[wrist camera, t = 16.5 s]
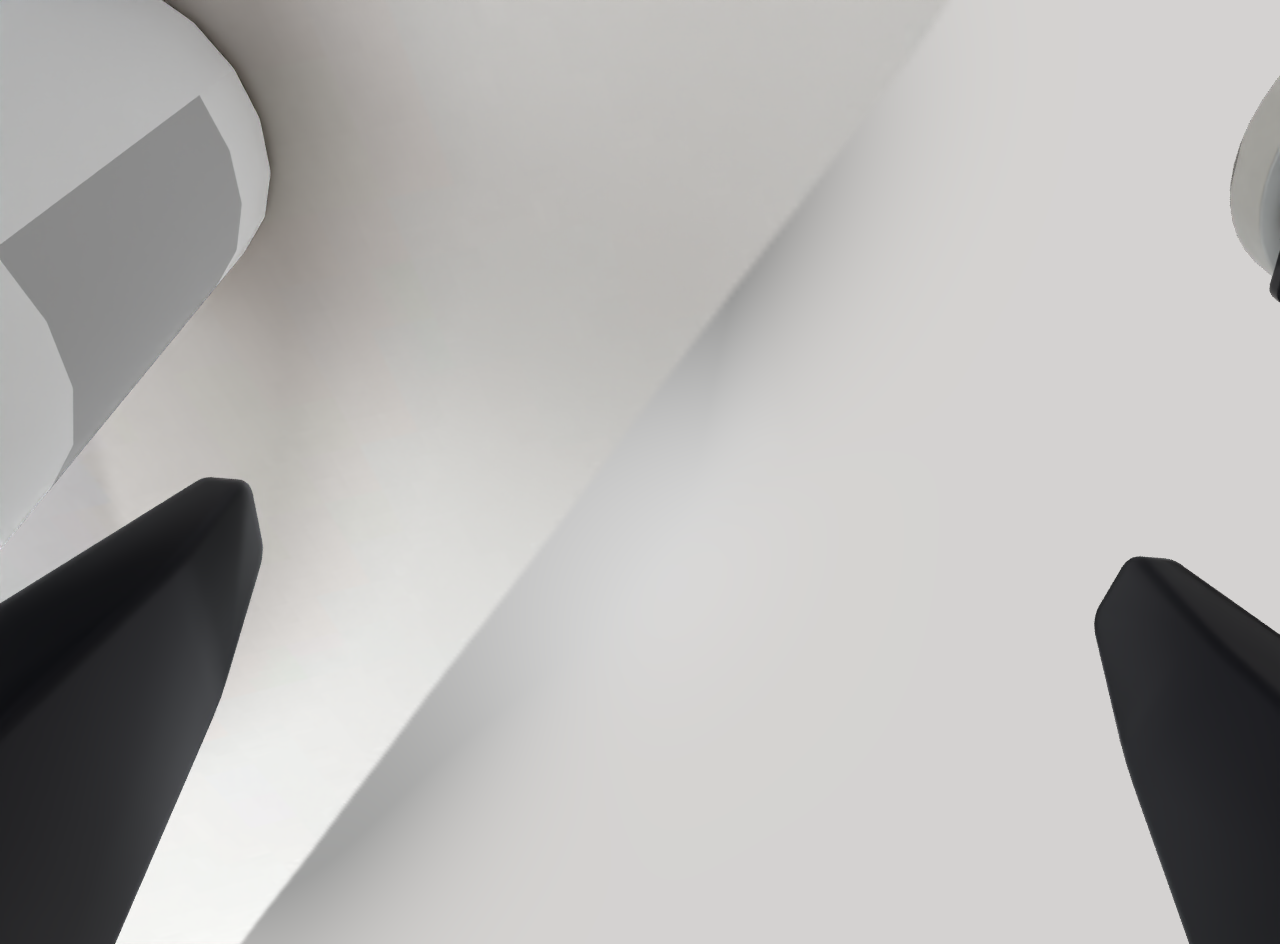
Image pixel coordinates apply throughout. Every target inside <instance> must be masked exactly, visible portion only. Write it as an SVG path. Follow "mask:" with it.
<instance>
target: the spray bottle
mask: <svg viewBox="0 0 1280 944" xmlns="http://www.w3.org/2000/svg"><path fill="white" fill-rule="evenodd" d="M270 174H271V171H270V166H269V162H268V157H267V152H266V147H265V142H264V137H263V132H262V127H261V122H260V118H259V116H258V114H257V112H256V110H255V109H254V107H253V105H252V103H251V101H250V99H249V97H248V95H247V93H246V91H245V89H244V87H243V85H242V83H241V81H240V79H239V78H238V76H237V74H236V72H235V70H234V68H233V67H232V66H231V65H230V63H229V62H228V61H227V60H226V59H225V58H224V57H223V55H222V54H221V53H220V52H219V51H218V50H217V49H216V47H215V46H214V45H213V44H212V43H211V42H210V41H209V40H208V38H207V37H206V36H205V35H204V34H203V33H202V32H201V30H200V29H199V28H198V27H197V26H196V25H195V24H194V22H192V21H191V20H189V19H188V18H187V17H185V16H184V15H182V14H181V13H179V12H178V11H177V10H175V9H174V8H172V7H171V6H170V5H168V4H167V3H165V2H164V1H162V0H0V550H1V548H2V547H3V546H4V545H5V543H6V542H7V541H8V540H9V539H10V537H11V536H12V535H13V534H14V533H15V531H16V530H17V529H18V528H19V526H20V525H21V524H22V523H23V522H24V520H25V519H26V518H27V517H28V515H29V514H30V513H31V512H32V511H33V509H34V508H35V507H36V506H37V504H38V503H39V502H40V501H41V500H42V498H43V497H44V496H45V495H46V494H47V492H48V491H49V490H50V489H51V487H52V486H53V485H54V484H55V483H56V481H57V480H58V479H59V478H60V476H61V475H62V474H63V473H64V472H65V470H66V469H67V468H68V467H69V465H70V464H71V463H72V462H73V461H74V459H75V458H76V457H77V456H78V455H79V453H80V452H81V451H82V450H83V448H84V447H85V446H86V445H87V444H88V442H89V441H90V440H91V439H92V437H93V436H94V435H95V434H96V433H97V431H98V430H99V429H100V428H101V426H102V425H103V424H104V423H105V422H106V420H107V419H108V418H109V417H110V415H111V414H112V413H113V412H114V411H115V409H116V408H117V407H118V406H119V405H120V403H121V402H122V401H123V400H124V398H125V397H126V396H127V395H128V394H129V392H130V391H131V390H132V389H133V387H134V386H135V385H136V384H137V383H138V381H139V380H140V379H141V378H142V376H143V375H144V374H145V373H146V372H147V370H148V369H149V368H150V367H151V366H152V364H153V363H154V362H155V361H156V359H157V358H158V357H159V356H160V355H161V353H162V352H163V351H164V350H165V348H166V347H167V346H168V345H169V344H170V342H171V341H172V340H173V339H174V337H175V336H176V335H177V334H178V333H179V331H180V330H181V329H182V328H183V327H184V325H185V324H186V323H187V322H188V320H189V319H190V318H191V317H192V316H193V314H194V313H195V312H196V311H197V309H198V308H199V307H200V306H201V305H202V303H203V302H204V301H205V300H206V298H207V297H208V296H209V295H210V294H211V292H212V291H213V290H214V289H215V287H216V286H217V285H218V284H219V283H220V281H221V280H222V279H223V278H224V277H225V275H226V274H227V273H228V272H229V270H230V269H231V268H232V267H233V266H234V264H235V263H236V262H237V261H238V259H239V258H240V257H241V256H242V255H243V253H244V252H245V251H246V249H247V247H248V245H249V244H250V242H251V240H252V238H253V237H254V235H255V233H256V231H257V230H258V228H259V226H260V224H261V223H262V221H263V219H264V217H265V212H266V205H267V197H268V189H269V181H270Z"/></svg>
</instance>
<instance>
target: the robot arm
mask: <svg viewBox="0 0 1280 944" xmlns="http://www.w3.org/2000/svg"><path fill="white" fill-rule="evenodd" d="M1270 293H1271V295H1272V296H1273V297H1274V298H1275V299H1276V300H1277V301H1279V302H1280V251H1279V255H1278V258H1277V262H1276V265H1275V269H1274V272H1273V276H1272V279H1271V283H1270ZM262 551H263V545H262V538H261V533H260V528H259V523H258V518H257V513H256V508H255V503H254V498H253V493H252V490H251V488H250V486H249V485H248V484H247V483H246V482H244V481H243V480H238V479H226V478H214V477H208V478H202V479H200V480H198V481H196V482H195V483H193V484H191V485H190V486H188V487H187V488H185V489H183V490H182V491H180V492H179V493H177V494H175V495H174V496H172V497H171V498H169V499H167V500H166V501H164V502H163V503H161V504H159V505H158V506H156V507H154V508H153V509H151V510H150V511H148V512H146V513H145V514H143V515H142V516H140V517H138V518H137V519H135V520H134V521H132V522H130V523H129V524H127V525H126V526H124V527H122V528H121V529H119V530H117V531H116V532H114V533H113V534H111V535H109V536H108V537H106V538H105V539H103V540H101V541H100V542H98V543H97V544H95V545H93V546H92V547H90V548H89V549H87V550H85V551H84V552H82V553H81V554H79V555H77V556H76V557H74V558H72V559H71V560H69V561H68V562H66V563H64V564H63V565H61V566H60V567H58V568H56V569H55V570H53V571H52V572H50V573H48V574H47V575H45V576H44V577H42V578H40V579H39V580H37V581H35V582H34V583H32V584H31V585H29V586H27V587H26V588H24V589H23V590H21V591H19V592H18V593H16V594H15V595H13V596H11V597H10V598H8V599H7V600H5V601H3V602H2V603H0V944H115V943H116V940H117V938H118V936H119V933H120V931H121V929H122V927H123V924H124V922H125V920H126V917H127V915H128V913H129V910H130V908H131V906H132V903H133V901H134V899H135V896H136V894H137V892H138V890H139V887H140V885H141V883H142V880H143V878H144V876H145V873H146V871H147V869H148V866H149V864H150V862H151V860H152V857H153V855H154V853H155V850H156V848H157V846H158V843H159V841H160V839H161V836H162V834H163V832H164V829H165V827H166V825H167V823H168V820H169V818H170V816H171V813H172V811H173V809H174V806H175V804H176V802H177V799H178V797H179V795H180V792H181V790H182V788H183V786H184V783H185V781H186V779H187V776H188V774H189V772H190V769H191V767H192V765H193V762H194V760H195V758H196V756H197V753H198V751H199V749H200V746H201V744H202V742H203V739H204V737H205V735H206V732H207V730H208V728H209V725H210V723H211V721H212V718H213V716H214V713H215V711H216V708H217V706H218V703H219V701H220V698H221V696H222V692H223V689H224V686H225V683H226V680H227V677H228V674H229V670H230V667H231V664H232V660H233V657H234V653H235V650H236V647H237V643H238V640H239V636H240V633H241V630H242V626H243V623H244V620H245V616H246V613H247V609H248V606H249V603H250V599H251V596H252V592H253V589H254V586H255V582H256V579H257V576H258V572H259V569H260V565H261V560H262ZM1094 626H1095V635H1096V639H1097V644H1098V648H1099V652H1100V657H1101V661H1102V665H1103V670H1104V674H1105V678H1106V682H1107V687H1108V691H1109V695H1110V699H1111V703H1112V708H1113V712H1114V716H1115V721H1116V724H1117V729H1118V733H1119V738H1120V742H1121V746H1122V749H1123V753H1124V757H1125V760H1126V764H1127V767H1128V770H1129V773H1130V776H1131V780H1132V782H1133V786H1134V788H1135V791H1136V794H1137V797H1138V800H1139V802H1140V805H1141V808H1142V811H1143V814H1144V817H1145V820H1146V822H1147V825H1148V828H1149V831H1150V834H1151V837H1152V839H1153V842H1154V845H1155V848H1156V851H1157V854H1158V856H1159V859H1160V862H1161V865H1162V868H1163V871H1164V873H1165V876H1166V879H1167V882H1168V885H1169V888H1170V890H1171V893H1172V896H1173V899H1174V902H1175V905H1176V907H1177V910H1178V913H1179V916H1180V919H1181V922H1182V924H1183V927H1184V930H1185V933H1186V936H1187V939H1188V941H1189V944H1280V634H1278V633H1277V632H1275V631H1274V630H1272V629H1271V628H1270V627H1268V626H1267V625H1265V624H1264V623H1262V622H1261V621H1260V620H1258V619H1257V618H1256V617H1254V616H1253V615H1251V614H1250V613H1248V612H1247V611H1246V610H1244V609H1243V608H1241V607H1240V606H1239V605H1237V604H1236V603H1234V602H1233V601H1232V600H1230V599H1229V598H1227V597H1226V596H1224V595H1223V594H1222V593H1220V592H1219V591H1217V590H1216V589H1215V588H1213V587H1212V586H1210V585H1209V584H1207V583H1206V582H1205V581H1203V580H1202V579H1200V578H1199V577H1198V576H1196V575H1195V574H1193V573H1192V572H1191V571H1189V570H1188V569H1186V568H1185V567H1183V566H1182V565H1181V564H1179V563H1177V562H1176V561H1173V560H1170V559H1164V558H1152V557H1133V558H1131V559H1130V560H1128V561H1127V562H1126V563H1125V564H1124V565H1123V567H1122V568H1121V570H1120V572H1119V573H1118V575H1117V577H1116V578H1115V580H1114V582H1113V583H1112V585H1111V587H1110V589H1109V590H1108V592H1107V594H1106V595H1105V597H1104V599H1103V600H1102V602H1101V604H1100V605H1099V608H1098V609H1097V613H1096V616H1095V623H1094Z"/></svg>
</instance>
